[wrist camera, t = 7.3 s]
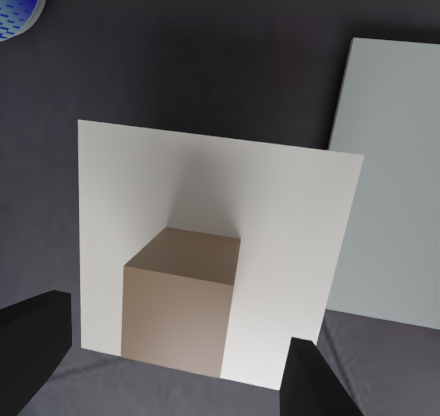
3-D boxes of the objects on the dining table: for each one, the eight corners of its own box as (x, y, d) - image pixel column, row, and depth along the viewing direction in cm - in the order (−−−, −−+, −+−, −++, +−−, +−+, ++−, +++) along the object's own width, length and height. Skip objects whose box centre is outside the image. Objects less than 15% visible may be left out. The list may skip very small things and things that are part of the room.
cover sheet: (358, 154, 11) (428, 162, 6) (301, 385, 14) (322, 497, 9) (86, 120, 12) (-12, 107, 8) (88, 340, 15) (18, 421, 11)
